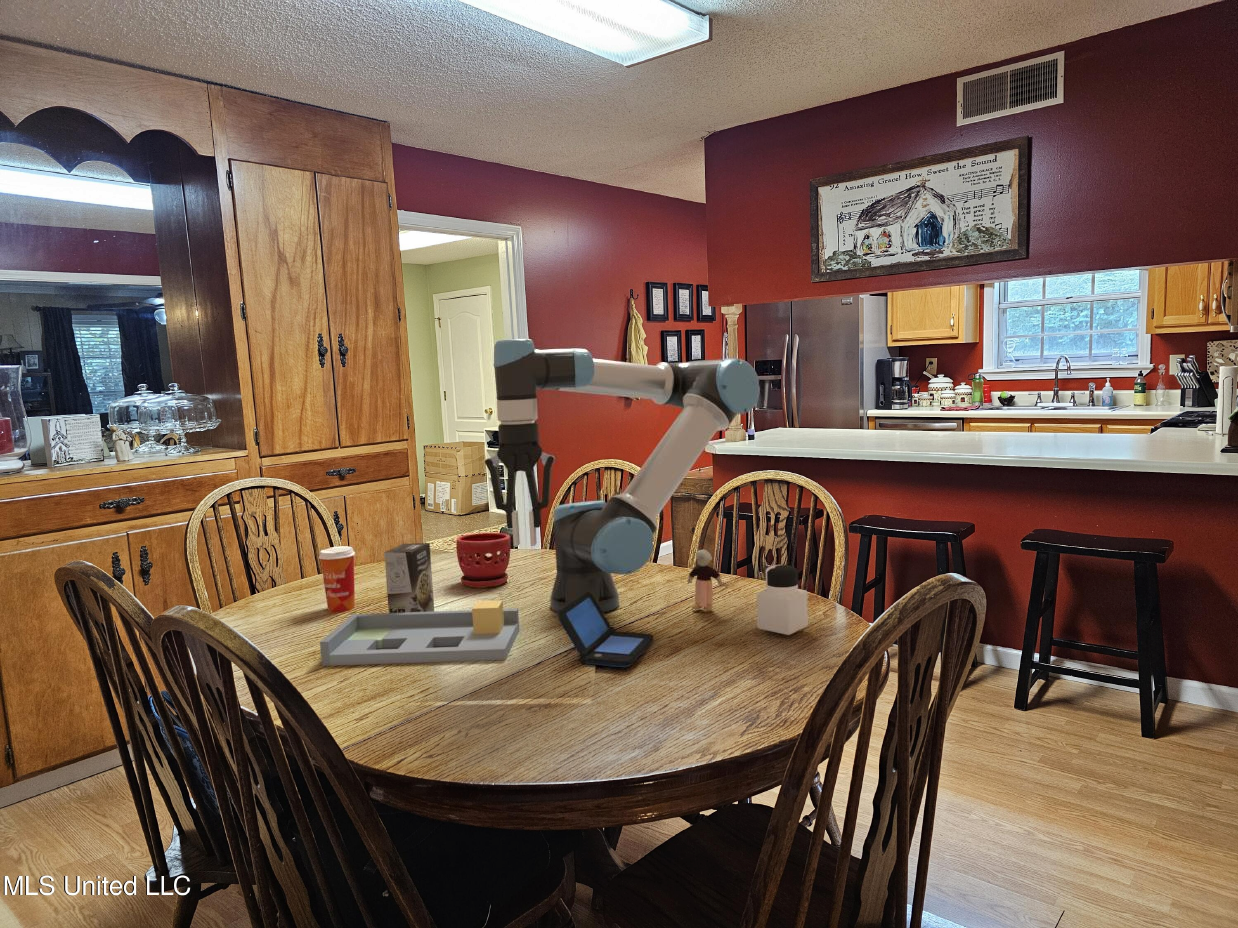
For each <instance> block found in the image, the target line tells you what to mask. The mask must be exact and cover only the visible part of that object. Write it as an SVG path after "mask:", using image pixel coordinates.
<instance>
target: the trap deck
mask: <svg viewBox="0 0 1238 928" xmlns="http://www.w3.org/2000/svg"><path fill="white" fill-rule="evenodd" d="M503 613H504V626H503V628H502V630H501V632H500V633H492V634H474V629H473V615H472V609H468V610H467V609H465V610H463V609H462V610H436V611H435V610H434V611H432V612H404V613H389V612H381V613H355V614H353V613H352V614H351V615H350V616H349V617H348V618H347V619H345V620H344V621H343V622H342V623H341V624H339V625H338V626H337V627H336V628H334V630H332V631H331V632H330V633H328V634H327V635H326V636H324V638H323V639H322V640H320V641H319V647H320V656H321V657H320V659H321V666H322V667H326V666H327V667H328V666H332V667H333V666H357V665H358V666H359V665H361V666H362V665H388V664H389V665H391V664H417V663H420V664H422V663H449V662H450V663H451V662H452V663H453V662H475V661H476V662H480V661H506V660H507V657H508V655H509V653H510V651H511V649H512V647H513V644H514V643H515V640H516V639H517V637H518V634H519V632H520V619H519V608H503Z"/></svg>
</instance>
